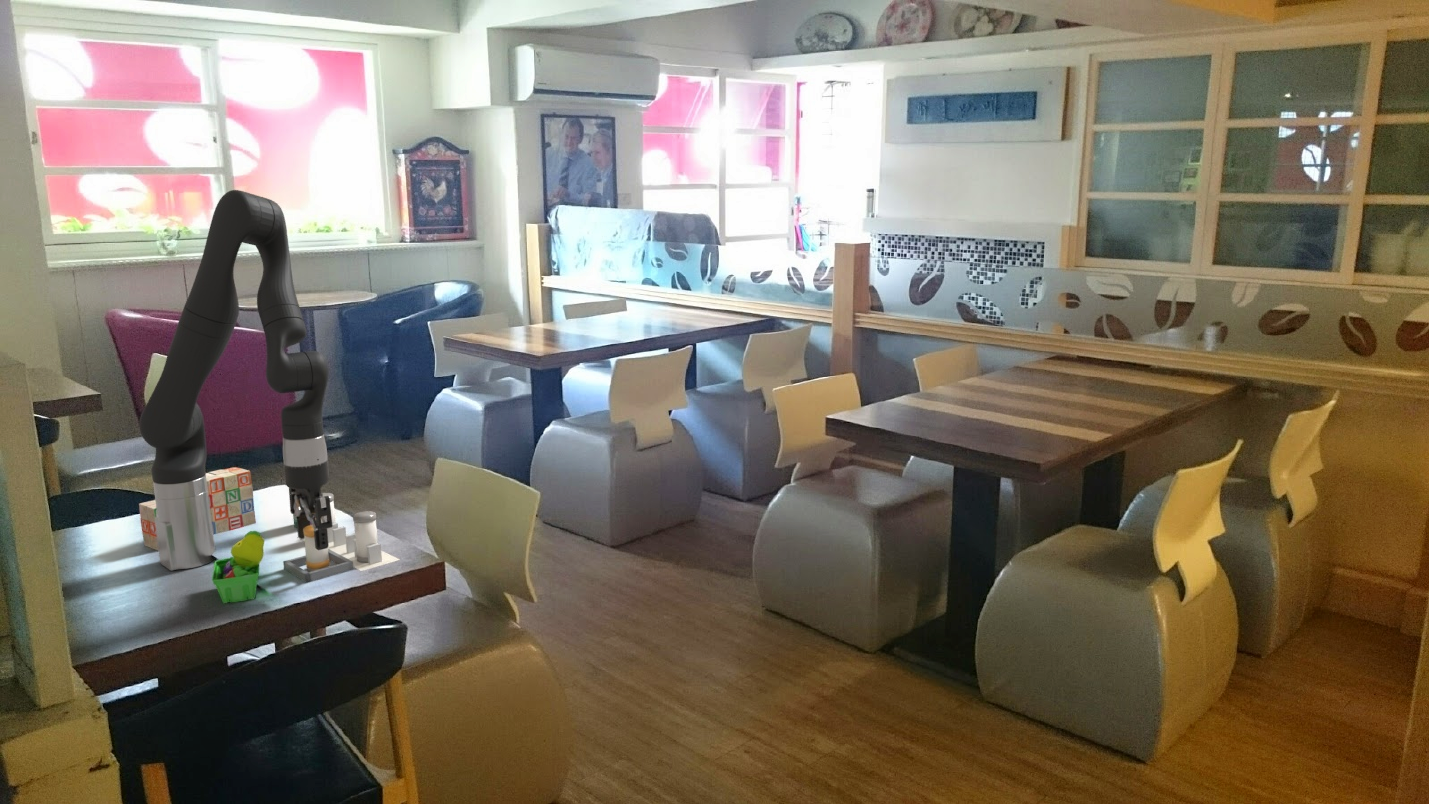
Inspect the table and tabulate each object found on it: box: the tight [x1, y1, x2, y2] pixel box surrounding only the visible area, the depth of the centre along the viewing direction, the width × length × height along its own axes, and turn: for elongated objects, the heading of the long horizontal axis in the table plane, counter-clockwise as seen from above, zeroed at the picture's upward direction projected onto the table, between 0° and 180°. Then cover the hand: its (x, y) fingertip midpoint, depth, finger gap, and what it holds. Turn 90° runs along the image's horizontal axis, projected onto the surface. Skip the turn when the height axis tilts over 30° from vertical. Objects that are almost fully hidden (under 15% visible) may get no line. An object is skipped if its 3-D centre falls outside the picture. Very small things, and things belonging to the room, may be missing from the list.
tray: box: [282, 549, 355, 583], centre depth 194 cm, size 9×10×3 cm
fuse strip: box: [297, 522, 401, 572], centre depth 204 cm, size 8×28×5 cm, turn 45°
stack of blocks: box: [138, 466, 257, 552], centre depth 218 cm, size 21×6×12 cm, turn 144°
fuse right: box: [352, 510, 379, 563], centre depth 197 cm, size 4×4×9 cm
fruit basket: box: [211, 530, 265, 604], centre depth 186 cm, size 11×9×11 cm
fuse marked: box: [303, 525, 330, 572], centre depth 193 cm, size 4×4×9 cm
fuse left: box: [321, 492, 337, 524], centre depth 210 cm, size 4×4×9 cm
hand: (313, 543), depth 192 cm, fingers open, 8 cm apart
